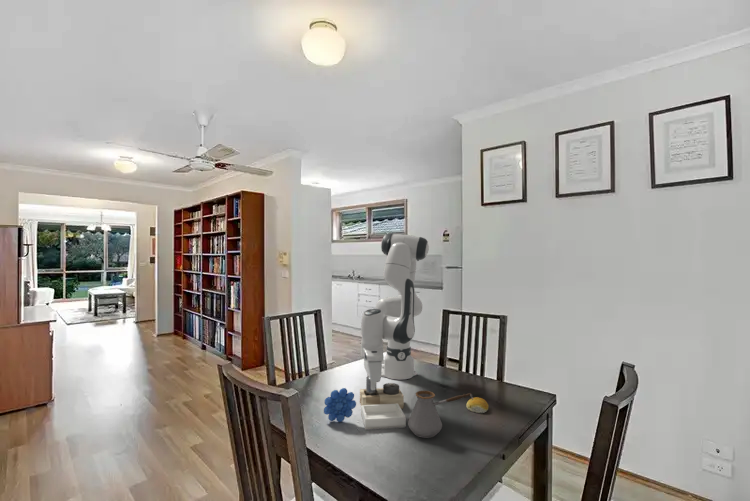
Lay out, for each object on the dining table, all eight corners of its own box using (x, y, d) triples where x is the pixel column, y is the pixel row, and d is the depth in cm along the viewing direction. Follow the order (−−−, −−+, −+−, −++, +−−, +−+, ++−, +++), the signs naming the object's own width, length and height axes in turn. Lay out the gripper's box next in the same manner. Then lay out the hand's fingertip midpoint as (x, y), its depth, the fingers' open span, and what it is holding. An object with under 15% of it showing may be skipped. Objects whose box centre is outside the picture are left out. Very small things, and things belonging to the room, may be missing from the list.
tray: (360, 414, 138) (361, 405, 138) (397, 412, 140) (398, 403, 140) (365, 429, 126) (365, 419, 126) (405, 427, 128) (405, 417, 128)
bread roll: (488, 406, 148) (488, 396, 148) (487, 415, 140) (487, 404, 140) (467, 403, 151) (467, 393, 151) (465, 411, 142) (465, 401, 143)
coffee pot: (404, 437, 121) (404, 391, 121) (411, 422, 132) (412, 380, 132) (471, 448, 114) (472, 399, 115) (473, 432, 125) (474, 387, 126)
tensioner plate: (359, 401, 150) (359, 381, 150) (398, 399, 153) (398, 379, 153) (362, 410, 141) (362, 389, 141) (403, 408, 144) (403, 387, 144)
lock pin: (365, 403, 148) (365, 376, 148) (375, 403, 149) (375, 375, 149) (366, 407, 144) (367, 379, 144) (376, 407, 145) (377, 379, 145)
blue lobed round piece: (357, 417, 135) (357, 384, 136) (355, 425, 129) (355, 391, 129) (325, 416, 136) (326, 383, 136) (321, 424, 130) (322, 389, 130)
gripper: (360, 344, 157) (360, 377, 156) (367, 358, 136) (367, 396, 136) (375, 344, 158) (375, 377, 157) (384, 357, 137) (383, 395, 137)
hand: (371, 386), depth 147 cm, fingers open, 6 cm apart
